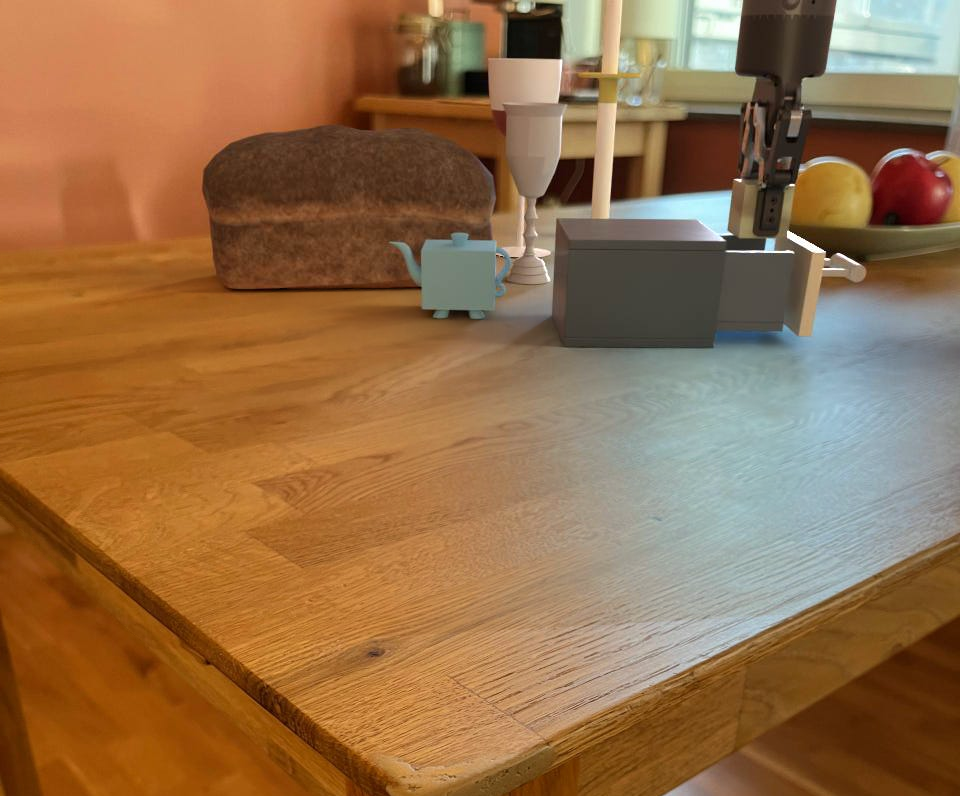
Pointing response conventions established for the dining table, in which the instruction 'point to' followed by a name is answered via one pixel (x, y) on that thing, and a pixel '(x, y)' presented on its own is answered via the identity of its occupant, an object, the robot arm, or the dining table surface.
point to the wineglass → (521, 85)
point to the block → (746, 205)
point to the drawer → (776, 284)
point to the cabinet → (637, 282)
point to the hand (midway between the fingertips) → (757, 230)
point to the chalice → (532, 171)
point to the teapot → (457, 274)
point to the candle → (607, 109)
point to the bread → (339, 205)
